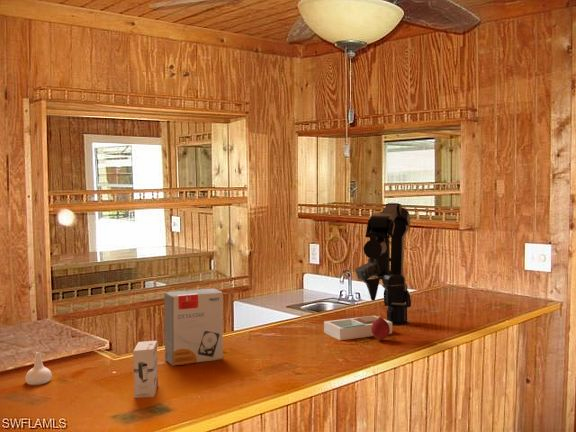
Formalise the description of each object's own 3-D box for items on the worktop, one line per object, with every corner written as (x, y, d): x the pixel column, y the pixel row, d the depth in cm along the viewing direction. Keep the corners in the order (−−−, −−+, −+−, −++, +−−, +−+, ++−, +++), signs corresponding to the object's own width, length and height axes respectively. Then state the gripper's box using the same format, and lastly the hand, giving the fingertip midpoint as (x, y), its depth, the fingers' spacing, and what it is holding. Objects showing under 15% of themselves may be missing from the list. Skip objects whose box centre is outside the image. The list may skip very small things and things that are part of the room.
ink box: (139, 386, 155) (138, 340, 155) (158, 385, 156) (157, 339, 155) (133, 398, 147) (132, 350, 146) (154, 397, 147) (153, 349, 146)
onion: (391, 339, 198) (391, 314, 197) (386, 343, 192) (386, 318, 192) (374, 337, 200) (374, 313, 200) (369, 341, 195) (369, 317, 194)
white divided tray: (374, 326, 215) (374, 313, 215) (392, 333, 205) (392, 320, 205) (324, 332, 207) (323, 319, 207) (339, 340, 197) (339, 326, 197)
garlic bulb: (42, 388, 156) (43, 358, 155) (20, 385, 157) (21, 354, 156) (55, 380, 162) (57, 351, 162) (34, 377, 163) (35, 348, 163)
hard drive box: (172, 367, 171) (170, 296, 170) (164, 360, 178) (162, 292, 176) (224, 359, 178) (223, 291, 177) (214, 352, 185) (213, 287, 183)
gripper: (344, 253, 200) (344, 300, 201) (375, 259, 183) (375, 311, 184) (373, 251, 205) (373, 297, 206) (405, 257, 188) (405, 307, 189)
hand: (380, 303), depth 196 cm, fingers open, 9 cm apart
